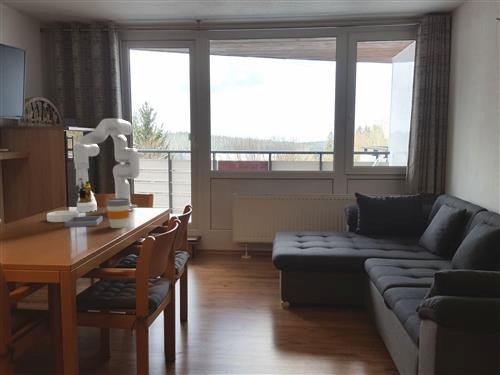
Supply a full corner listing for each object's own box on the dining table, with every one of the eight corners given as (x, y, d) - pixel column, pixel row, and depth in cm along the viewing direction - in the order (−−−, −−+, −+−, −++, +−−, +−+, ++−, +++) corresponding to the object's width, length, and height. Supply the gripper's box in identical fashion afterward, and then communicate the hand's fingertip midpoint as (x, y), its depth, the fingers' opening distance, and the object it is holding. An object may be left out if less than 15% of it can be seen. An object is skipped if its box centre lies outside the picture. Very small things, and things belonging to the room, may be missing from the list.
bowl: (81, 216, 264) (81, 210, 263) (74, 221, 247) (74, 214, 247) (52, 217, 261) (52, 211, 261) (43, 222, 244) (43, 215, 244)
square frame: (102, 220, 251) (102, 216, 250) (97, 225, 234) (96, 221, 234) (73, 221, 248) (72, 217, 248) (65, 226, 231) (64, 222, 231)
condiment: (90, 202, 237) (89, 182, 236) (75, 203, 236) (73, 182, 235) (93, 200, 245) (92, 180, 243) (78, 201, 243) (77, 181, 242)
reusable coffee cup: (106, 229, 224) (105, 201, 222) (107, 224, 236) (106, 198, 234) (130, 227, 227) (129, 200, 225) (130, 223, 239) (129, 197, 237)
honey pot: (72, 211, 282) (71, 185, 280) (85, 208, 295) (84, 183, 293) (88, 212, 279) (87, 185, 277) (101, 209, 291) (99, 183, 289)
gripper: (78, 164, 245) (80, 195, 248) (70, 167, 228) (73, 199, 231) (91, 164, 246) (93, 194, 249) (85, 167, 229) (87, 199, 232)
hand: (83, 196), depth 240 cm, fingers closed on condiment, 6 cm apart
